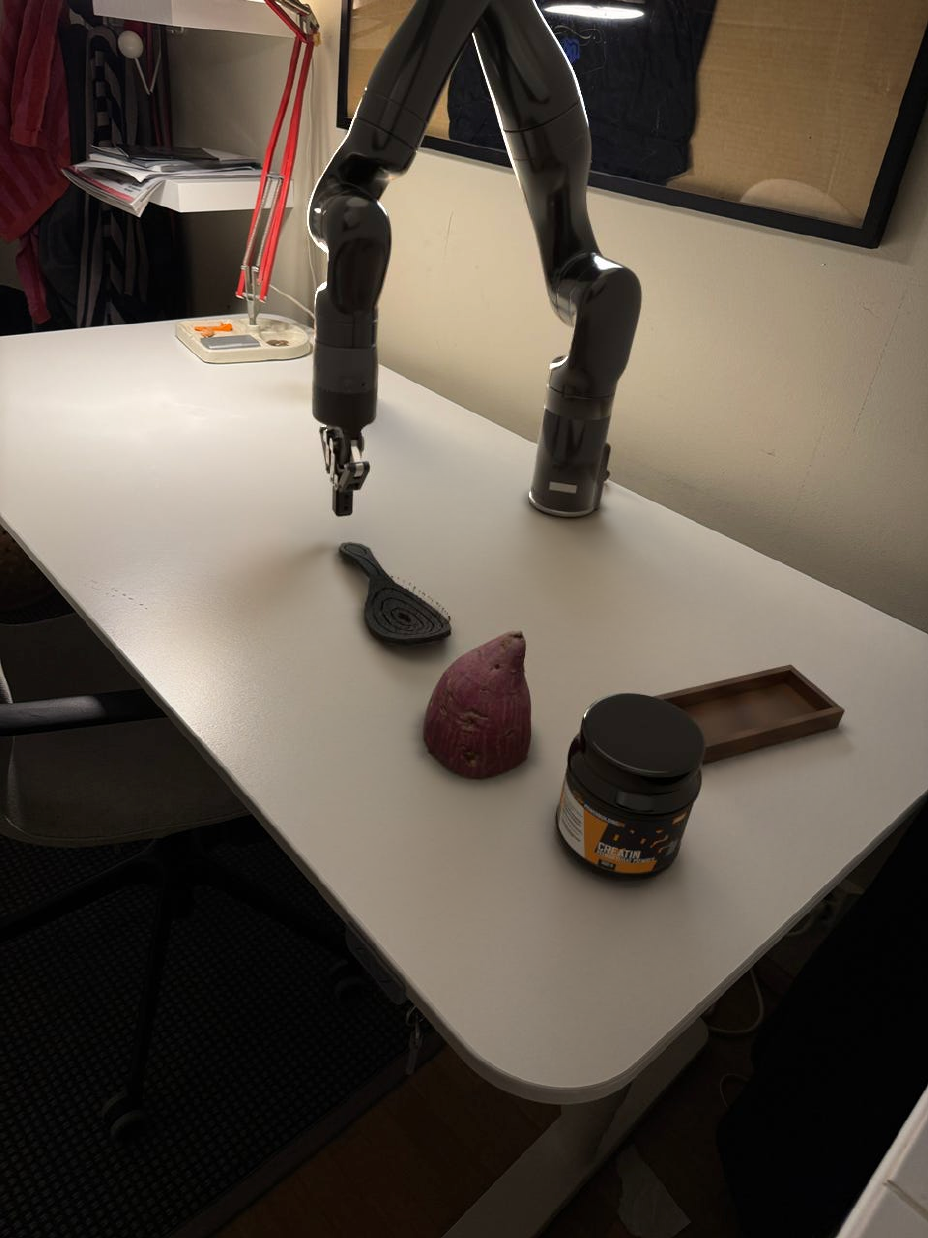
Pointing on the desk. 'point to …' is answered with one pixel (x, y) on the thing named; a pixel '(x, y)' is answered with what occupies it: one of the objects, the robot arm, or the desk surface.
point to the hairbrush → (395, 605)
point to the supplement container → (629, 787)
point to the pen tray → (756, 711)
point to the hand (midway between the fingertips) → (342, 513)
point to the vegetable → (482, 710)
